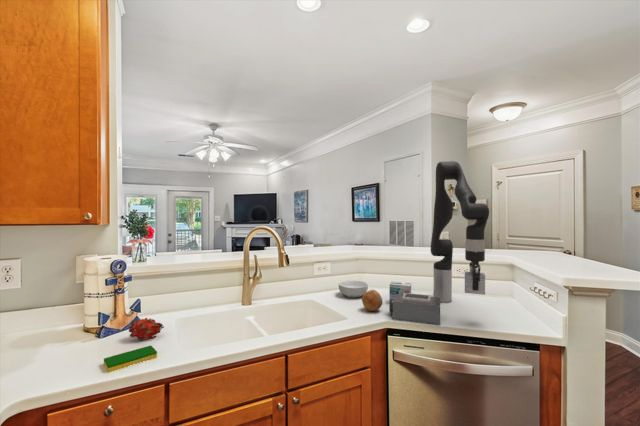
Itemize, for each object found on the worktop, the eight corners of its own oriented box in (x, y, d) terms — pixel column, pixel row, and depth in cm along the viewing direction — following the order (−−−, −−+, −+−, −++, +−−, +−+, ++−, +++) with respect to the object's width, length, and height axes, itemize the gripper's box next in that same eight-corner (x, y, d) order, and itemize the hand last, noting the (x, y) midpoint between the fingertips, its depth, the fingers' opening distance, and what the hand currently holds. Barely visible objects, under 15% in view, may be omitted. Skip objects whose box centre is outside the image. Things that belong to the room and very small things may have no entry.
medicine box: (484, 292, 133) (484, 272, 133) (485, 295, 129) (485, 274, 129) (464, 290, 136) (464, 271, 136) (464, 293, 132) (464, 273, 132)
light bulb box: (389, 304, 160) (389, 283, 160) (391, 300, 166) (391, 281, 166) (410, 306, 156) (410, 285, 156) (411, 303, 162) (411, 282, 162)
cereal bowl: (336, 292, 183) (336, 280, 183) (363, 291, 185) (363, 279, 185) (341, 300, 167) (341, 287, 166) (371, 299, 168) (371, 286, 168)
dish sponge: (103, 365, 98) (103, 358, 98) (151, 351, 108) (151, 344, 108) (108, 374, 93) (108, 366, 93) (157, 358, 103) (157, 351, 103)
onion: (362, 306, 156) (362, 287, 156) (382, 308, 154) (382, 288, 154) (361, 313, 146) (361, 292, 146) (382, 314, 144) (382, 293, 144)
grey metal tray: (392, 309, 152) (392, 290, 152) (439, 314, 144) (439, 294, 144) (388, 318, 139) (388, 297, 138) (440, 324, 131) (440, 302, 131)
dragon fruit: (126, 344, 116) (161, 344, 120) (124, 338, 110) (160, 338, 114) (132, 321, 121) (165, 322, 125) (130, 314, 115) (165, 315, 119)
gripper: (463, 246, 140) (463, 283, 141) (467, 251, 127) (466, 292, 127) (482, 247, 138) (481, 285, 138) (487, 252, 124) (487, 294, 125)
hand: (474, 288), depth 133 cm, fingers closed on medicine box, 4 cm apart
